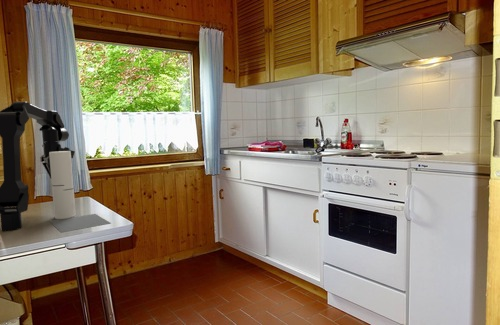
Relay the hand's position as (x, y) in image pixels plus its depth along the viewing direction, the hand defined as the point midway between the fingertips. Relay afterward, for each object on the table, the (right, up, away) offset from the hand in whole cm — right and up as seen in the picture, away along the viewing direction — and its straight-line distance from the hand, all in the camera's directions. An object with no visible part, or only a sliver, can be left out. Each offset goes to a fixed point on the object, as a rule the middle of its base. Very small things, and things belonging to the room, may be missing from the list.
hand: (53, 179), depth 147 cm
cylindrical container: (+11, -14, -12) cm, 22 cm away
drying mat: (+22, -14, -22) cm, 34 cm away
